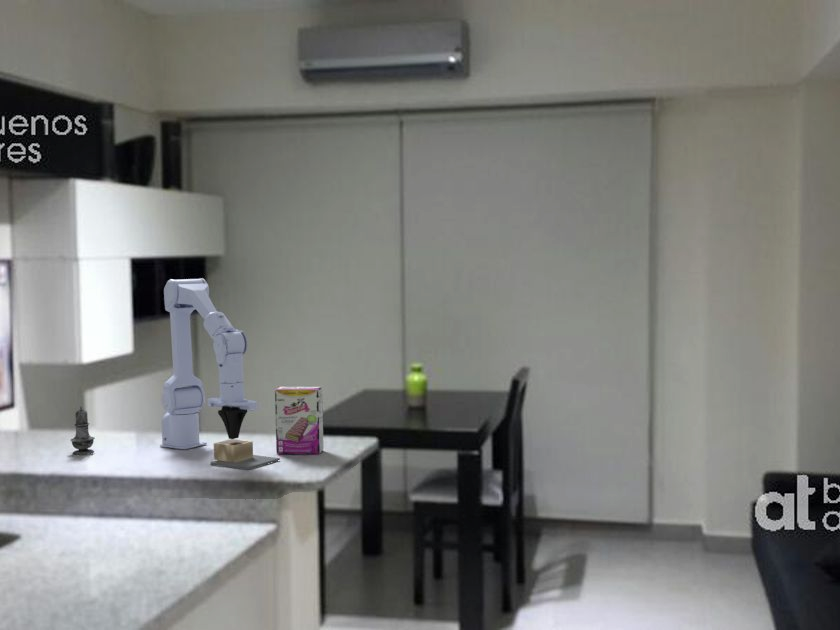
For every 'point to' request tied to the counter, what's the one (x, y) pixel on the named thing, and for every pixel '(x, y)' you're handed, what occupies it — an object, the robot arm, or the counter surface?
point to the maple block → (233, 450)
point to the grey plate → (246, 462)
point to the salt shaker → (82, 434)
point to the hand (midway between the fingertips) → (233, 438)
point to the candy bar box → (299, 420)
